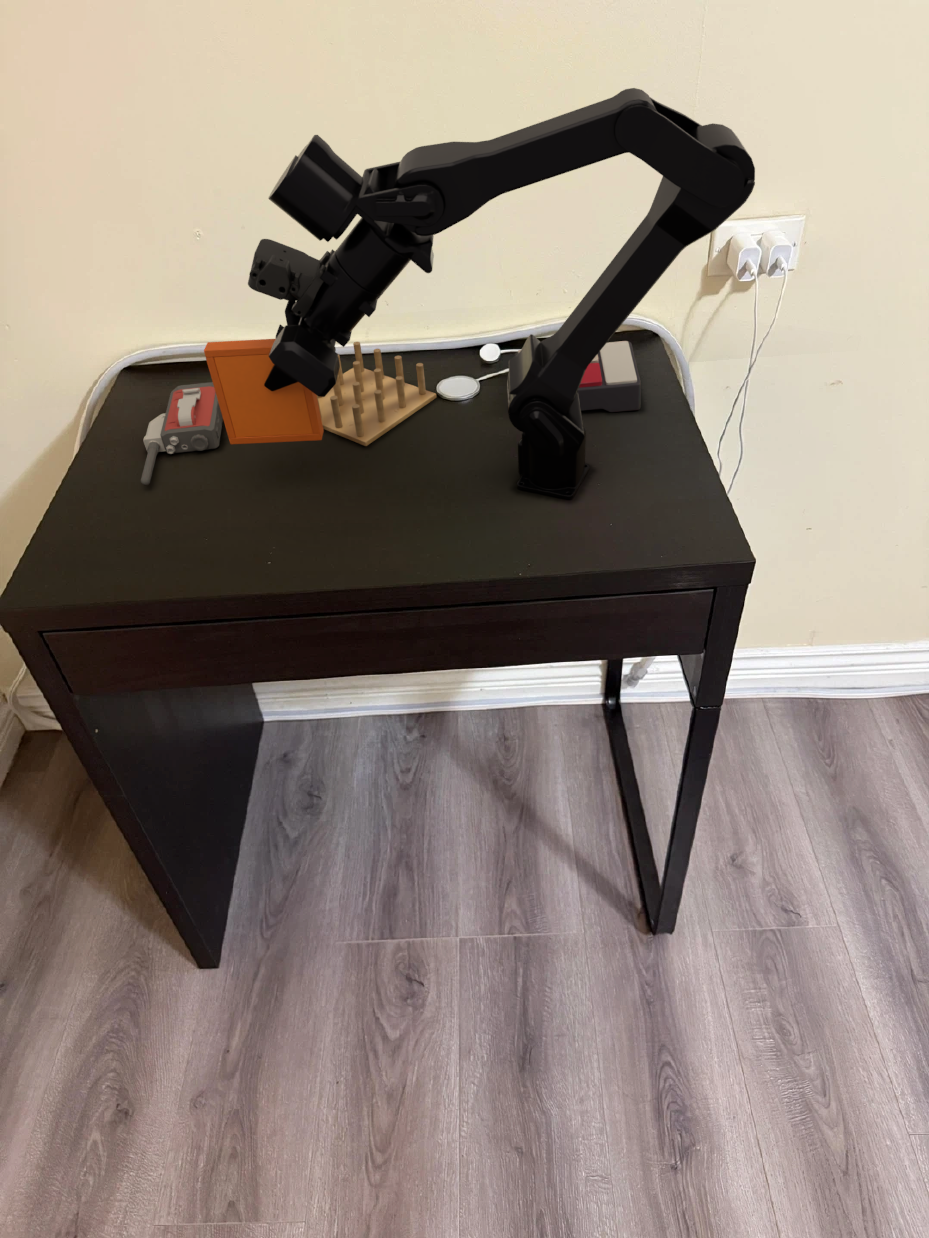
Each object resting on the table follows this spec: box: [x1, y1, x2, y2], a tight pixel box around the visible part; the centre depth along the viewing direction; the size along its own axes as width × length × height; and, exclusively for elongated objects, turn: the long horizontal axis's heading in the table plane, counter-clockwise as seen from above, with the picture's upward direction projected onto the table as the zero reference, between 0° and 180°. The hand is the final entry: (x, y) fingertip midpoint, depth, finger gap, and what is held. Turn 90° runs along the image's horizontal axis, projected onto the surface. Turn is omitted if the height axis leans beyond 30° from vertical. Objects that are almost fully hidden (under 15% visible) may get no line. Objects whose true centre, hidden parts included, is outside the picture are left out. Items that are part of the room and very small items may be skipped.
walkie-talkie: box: [140, 381, 224, 486], centre depth 110 cm, size 9×4×20 cm
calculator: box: [514, 340, 642, 413], centre depth 113 cm, size 11×4×15 cm
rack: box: [317, 341, 437, 447], centre depth 113 cm, size 14×13×5 cm
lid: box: [203, 338, 325, 445], centre depth 94 cm, size 10×2×11 cm, turn 89°
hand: (269, 382), depth 93 cm, fingers closed on lid, 2 cm apart
